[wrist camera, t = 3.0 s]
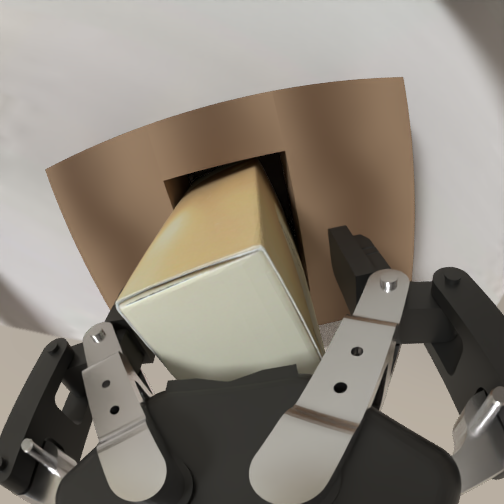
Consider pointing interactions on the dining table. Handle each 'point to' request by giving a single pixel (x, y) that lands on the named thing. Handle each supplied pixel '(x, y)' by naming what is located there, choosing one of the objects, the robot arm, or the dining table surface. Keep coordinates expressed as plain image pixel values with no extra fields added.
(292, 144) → the walnut holder block
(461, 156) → the dining table surface
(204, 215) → the skincare box
